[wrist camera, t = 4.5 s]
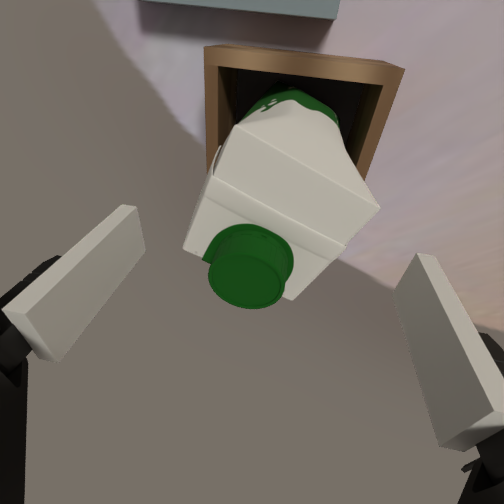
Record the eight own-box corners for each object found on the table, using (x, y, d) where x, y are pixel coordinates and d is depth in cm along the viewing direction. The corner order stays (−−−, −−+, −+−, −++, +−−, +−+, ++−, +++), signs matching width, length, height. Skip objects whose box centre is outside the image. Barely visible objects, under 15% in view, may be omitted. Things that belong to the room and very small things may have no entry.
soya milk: (234, 151, 30) (154, 274, 15) (274, 62, 24) (212, 110, 9) (302, 189, 31) (294, 338, 16) (355, 112, 26) (420, 229, 10)
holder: (224, 184, 33) (207, 214, 27) (227, 43, 24) (203, 46, 19) (338, 202, 32) (344, 236, 26) (383, 60, 23) (405, 69, 18)
